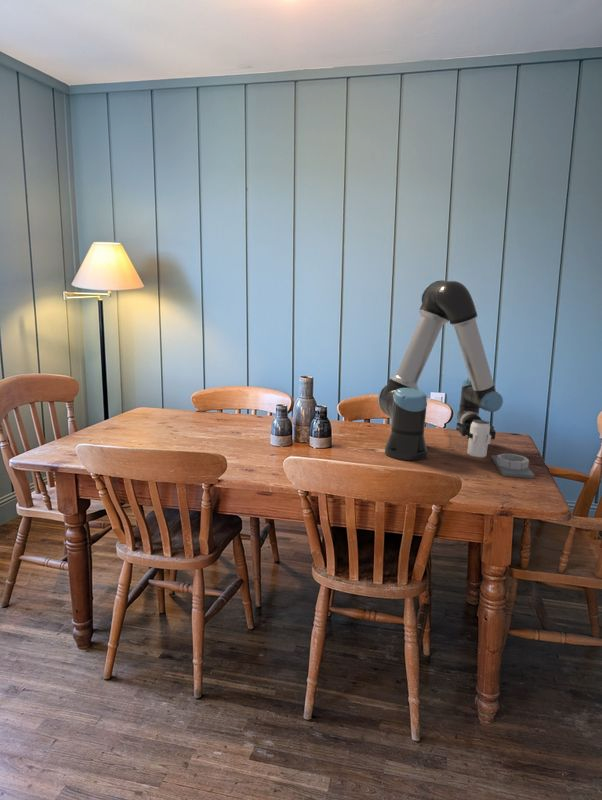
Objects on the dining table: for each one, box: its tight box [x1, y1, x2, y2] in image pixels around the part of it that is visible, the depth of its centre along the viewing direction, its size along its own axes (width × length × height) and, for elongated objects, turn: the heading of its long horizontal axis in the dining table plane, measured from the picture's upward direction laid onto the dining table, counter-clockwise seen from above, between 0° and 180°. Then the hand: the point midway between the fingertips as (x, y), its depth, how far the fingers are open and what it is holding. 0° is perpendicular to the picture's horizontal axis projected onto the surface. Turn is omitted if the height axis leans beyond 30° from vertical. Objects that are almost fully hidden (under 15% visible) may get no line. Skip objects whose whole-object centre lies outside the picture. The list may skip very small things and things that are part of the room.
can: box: [466, 419, 491, 459], centre depth 203 cm, size 6×6×12 cm
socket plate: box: [491, 453, 535, 479], centre depth 203 cm, size 10×20×4 cm, turn 173°
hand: (482, 439), depth 197 cm, fingers closed on can, 4 cm apart
